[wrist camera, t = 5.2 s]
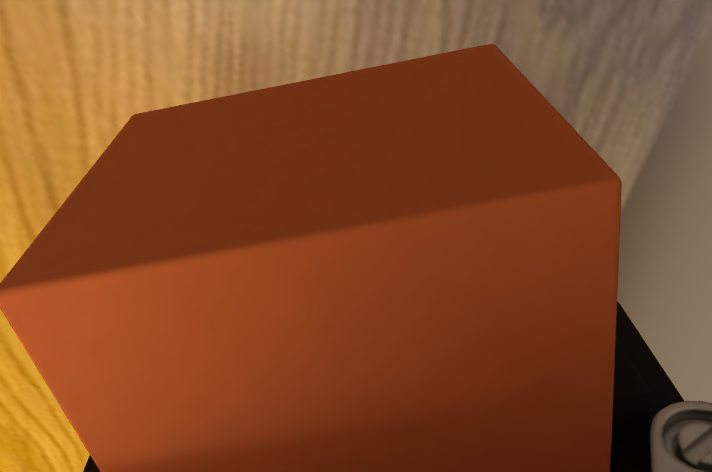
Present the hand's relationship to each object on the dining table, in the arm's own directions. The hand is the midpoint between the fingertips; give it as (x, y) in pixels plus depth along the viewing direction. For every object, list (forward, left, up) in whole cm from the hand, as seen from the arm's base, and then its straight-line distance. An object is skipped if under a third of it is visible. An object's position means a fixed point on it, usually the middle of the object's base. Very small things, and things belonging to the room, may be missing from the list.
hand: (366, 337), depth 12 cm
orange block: (0, 0, -1) cm, 1 cm away
